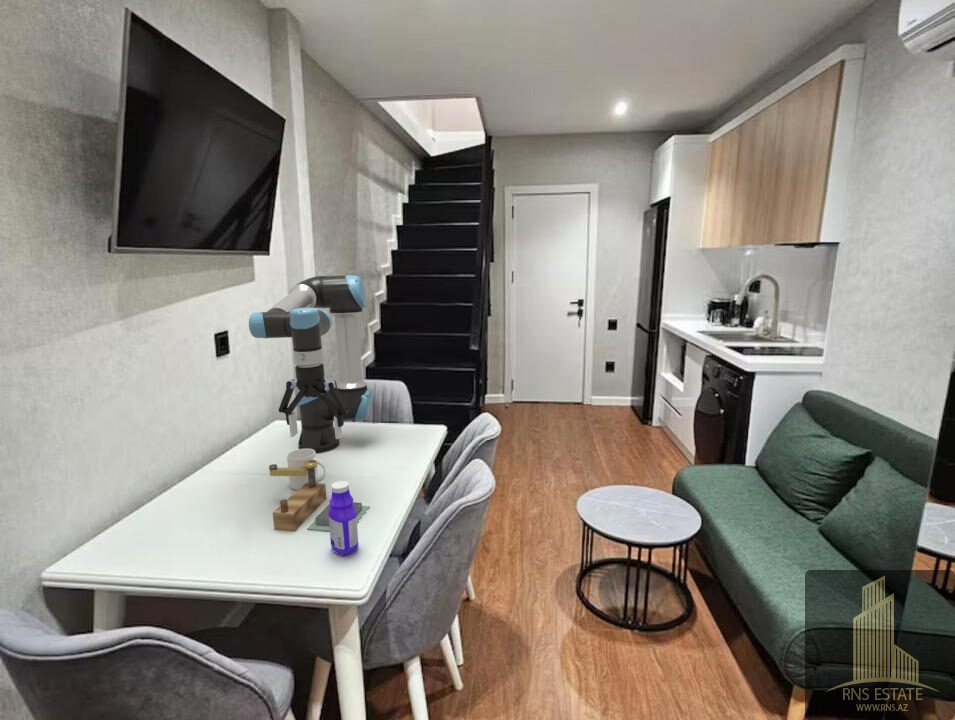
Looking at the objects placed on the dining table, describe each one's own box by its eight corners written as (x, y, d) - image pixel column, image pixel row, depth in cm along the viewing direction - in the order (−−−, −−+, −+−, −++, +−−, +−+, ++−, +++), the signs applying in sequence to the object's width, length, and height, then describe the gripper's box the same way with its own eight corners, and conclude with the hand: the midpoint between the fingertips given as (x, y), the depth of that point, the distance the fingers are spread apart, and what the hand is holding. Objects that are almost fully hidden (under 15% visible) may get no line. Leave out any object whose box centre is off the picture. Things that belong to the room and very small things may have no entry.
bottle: (363, 549, 124) (358, 484, 120) (343, 560, 119) (338, 492, 116) (346, 539, 128) (341, 476, 125) (327, 548, 124) (321, 483, 121)
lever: (319, 472, 148) (318, 460, 148) (315, 477, 145) (314, 465, 144) (273, 472, 149) (271, 460, 148) (267, 477, 146) (266, 465, 145)
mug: (319, 492, 154) (316, 460, 152) (284, 490, 156) (281, 458, 154) (332, 480, 162) (330, 449, 160) (299, 478, 165) (296, 447, 163)
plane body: (308, 497, 151) (304, 463, 149) (326, 499, 150) (323, 464, 148) (274, 529, 134) (270, 491, 131) (294, 531, 133) (290, 492, 130)
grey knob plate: (332, 507, 144) (332, 498, 144) (362, 509, 143) (361, 500, 142) (315, 525, 135) (315, 516, 134) (347, 527, 133) (346, 518, 133)
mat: (331, 504, 147) (331, 503, 146) (369, 507, 144) (369, 506, 144) (307, 529, 133) (307, 528, 133) (349, 533, 131) (349, 532, 131)
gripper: (260, 366, 137) (269, 439, 142) (346, 368, 133) (352, 443, 138) (274, 360, 144) (282, 429, 149) (357, 361, 140) (362, 432, 145)
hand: (316, 436), depth 143 cm, fingers open, 13 cm apart
